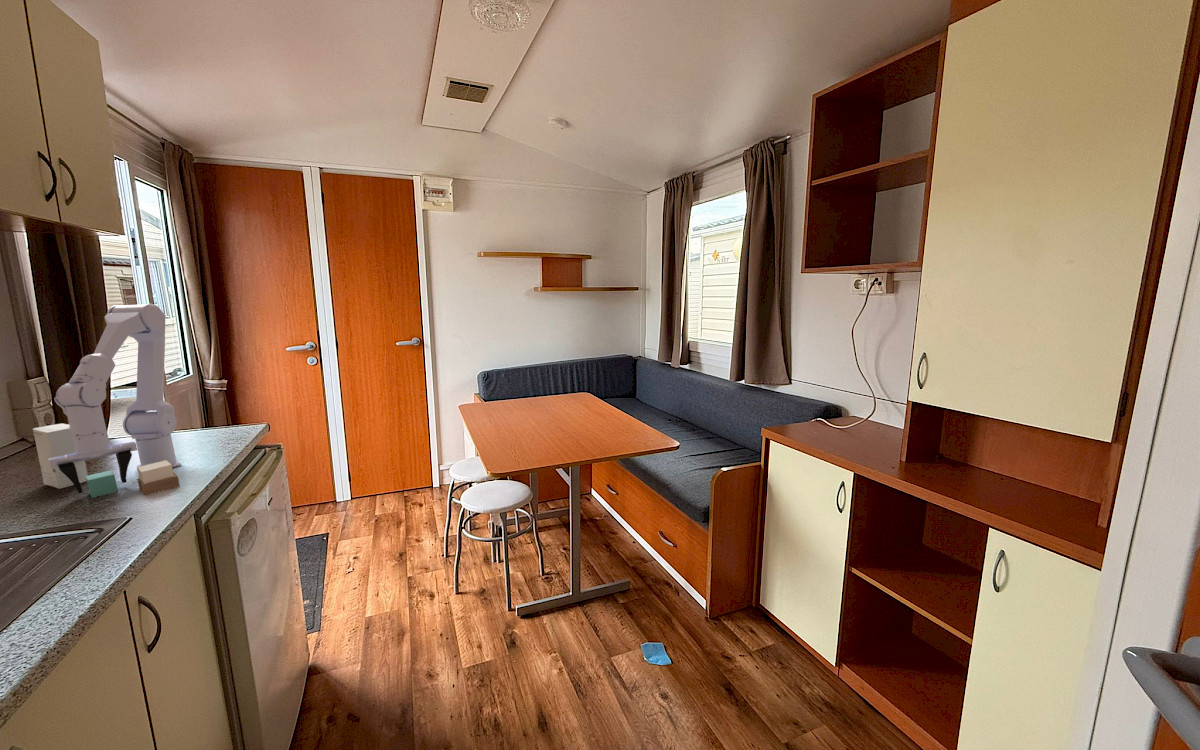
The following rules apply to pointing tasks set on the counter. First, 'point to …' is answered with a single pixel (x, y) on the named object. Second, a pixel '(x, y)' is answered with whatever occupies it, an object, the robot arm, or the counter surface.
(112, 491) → the teal block
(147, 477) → the cream middle slab
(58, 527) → the counter surface
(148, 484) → the walnut base slab
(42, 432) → the skincare box
